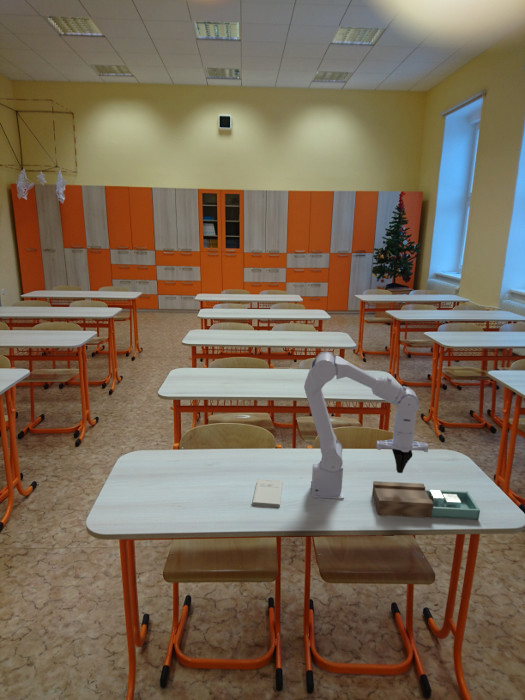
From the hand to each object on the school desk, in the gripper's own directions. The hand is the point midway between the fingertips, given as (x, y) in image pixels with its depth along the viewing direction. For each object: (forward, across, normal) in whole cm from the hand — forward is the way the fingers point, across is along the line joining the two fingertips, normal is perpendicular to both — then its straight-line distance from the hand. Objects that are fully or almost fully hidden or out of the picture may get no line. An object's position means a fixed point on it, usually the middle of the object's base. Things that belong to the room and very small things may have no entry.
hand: (399, 471), depth 131 cm
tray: (+9, +15, -4) cm, 18 cm away
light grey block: (+6, +15, -4) cm, 16 cm away
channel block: (+9, 0, -4) cm, 10 cm away
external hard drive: (+10, -39, -1) cm, 40 cm away
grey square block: (+7, +12, -3) cm, 14 cm away
